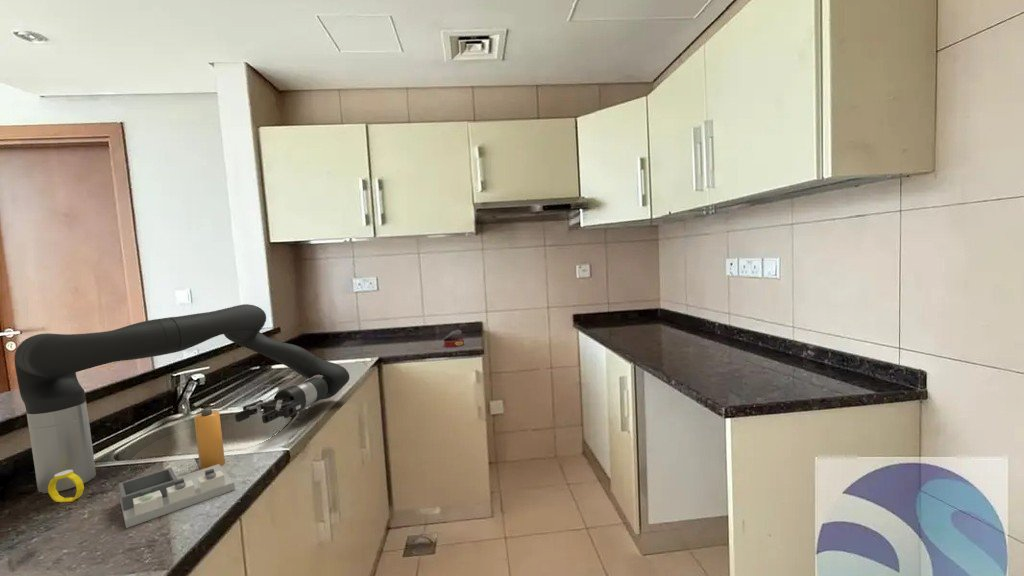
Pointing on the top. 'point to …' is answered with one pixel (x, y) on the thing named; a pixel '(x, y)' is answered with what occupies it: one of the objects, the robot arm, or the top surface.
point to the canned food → (453, 339)
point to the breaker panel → (183, 502)
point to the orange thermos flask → (209, 438)
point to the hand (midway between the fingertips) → (249, 418)
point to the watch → (70, 475)
